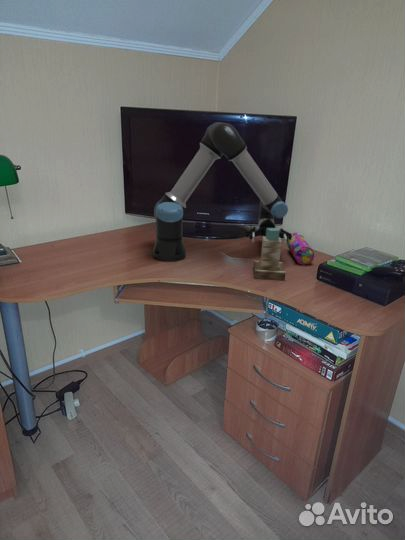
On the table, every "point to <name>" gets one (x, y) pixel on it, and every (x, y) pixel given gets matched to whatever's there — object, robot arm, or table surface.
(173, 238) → the robot arm
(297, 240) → the pencil case
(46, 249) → the table surface
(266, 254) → the wooden block tower
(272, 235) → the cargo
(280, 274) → the dock
